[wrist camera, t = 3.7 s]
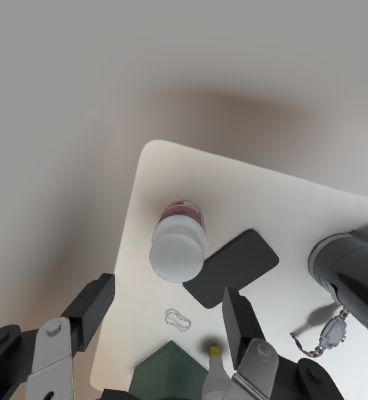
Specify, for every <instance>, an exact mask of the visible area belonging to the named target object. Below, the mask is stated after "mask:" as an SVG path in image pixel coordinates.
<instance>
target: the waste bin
mask: <svg viewBox="0 0 368 400" xmlns="http://www.w3.org/2000/svg"><path fill="white" fill-rule="evenodd" d="M207 374H208V371H207V370H206V369H204V368H203V367H202V366H201V365H200V364H198V363H197V362H196V361H195V360H194V359H192V358H191V357H190V356H189V355H188V354H187V353H185V352H184V351H183V350H182V349H181V348H179V347H178V346H177V345H176V344H175V343H174V342H172V341H170V342H169V343H168V344H166V345H165V346H164V347H162V348H161V349H160V350H158V351H157V352H156V353H154V354H153V355H152V356H150V357H149V358H148V359H146V360H145V361H144V362H142V363H141V364H140V365H138V366H137V367H135V370H134V373H133V377H132V380H131V384H130V387H129V391H128V393H130V394H132V395H134V396H136V397H137V398H139V399H141V400H157V399H161V398H166V397H178V398H187V399H191V400H201V394H202V387H203V384H204V381H205V379H206V377H207Z"/></svg>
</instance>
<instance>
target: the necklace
mask: <svg viewBox="0 0 368 400" xmlns="http://www.w3.org/2000/svg"><path fill="white" fill-rule="evenodd" d="M169 314H171V313H169ZM169 314H167V315H166V317H165V321H166V318H167V316H168V315H169ZM172 314H174V315H175V313H173V312H172ZM176 316H177V314H176ZM177 317H178V316H177ZM178 318H179V319H180V320H182V321H183V319H181V318H180V317H178ZM184 321H186V322H187V321H188V320H184ZM166 322H167V321H166ZM168 323H169V322H167V324H168ZM188 323H189V324H191V323H190V322H189V321H188ZM169 324H171V325H175V324H173V323H169ZM175 326H177V325H175ZM190 326H191V325H189V328H190ZM177 328H178V329H179V330H181V329H180V328H179V327H178V326H177ZM189 328H188V329H186V330H181V331H184V332H185V331H187V330H189Z"/></svg>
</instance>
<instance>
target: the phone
mask: <svg viewBox="0 0 368 400" xmlns="http://www.w3.org/2000/svg"><path fill="white" fill-rule="evenodd" d="M278 263H279V258H278V256H277V255H276V254H275V253H274V251H273V250H272V249H271V248H270V247H269V246H268V244H267V243H266V242H265V241H264V240H263V239H262V237H261V236H260V235H259V234H258V233H257V232H256V231H254V230H248V231H246V232H245V233H243V234H242V235H240V236H239V237H238V238H236V239H235V240H234V241H232V242H231V243H230V244H228V245H227V246H226V247H224V248H223V249H222V250H220V251H219V252H217V253H216V254H215V255H213V256H212V257H211V258H209V259H208V260H207V261H205V262H204V263H203V266H202V269H201V271H200V272H199V273H198V274H197V275H196V276H195V277H194V278H193V279H191V280H189V281H186V282H183V286H184V287H185V289H186V290H187V291H188V292H189V293H190V294H191V295H192V296H193V297H194V298H195V299H196V300H197V301H198V302H199V303H200V304H201V305H202V306H204V307H205V308H207V309H211V308H213V307H215V306H216V305H218V304H219V303H221V302H222V301H223V298H224V292H225V287H226V286H229V287H237V289H238V291H239V290H241V289H242V288H244V287H245V286H247V285H248V284H250V283H251V282H253V281H254V280H256V279H257V278H259V277H260V276H262V275H263V274H265V273H266V272H268V271H269V270H271V269H272V268H274V267H275V266H276V265H277V264H278Z"/></svg>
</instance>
